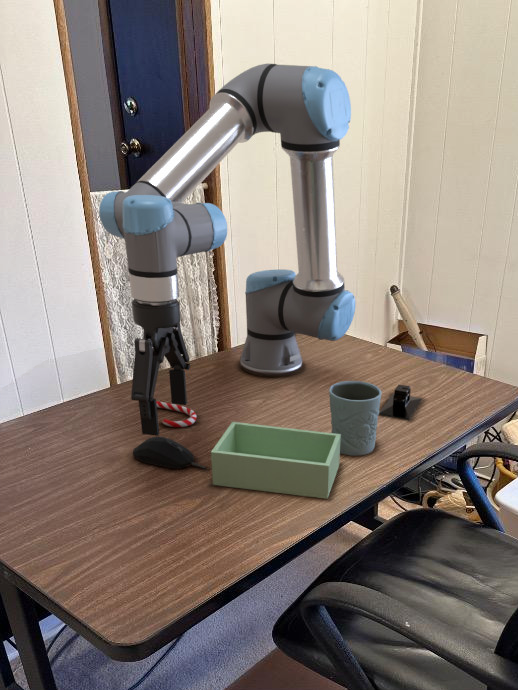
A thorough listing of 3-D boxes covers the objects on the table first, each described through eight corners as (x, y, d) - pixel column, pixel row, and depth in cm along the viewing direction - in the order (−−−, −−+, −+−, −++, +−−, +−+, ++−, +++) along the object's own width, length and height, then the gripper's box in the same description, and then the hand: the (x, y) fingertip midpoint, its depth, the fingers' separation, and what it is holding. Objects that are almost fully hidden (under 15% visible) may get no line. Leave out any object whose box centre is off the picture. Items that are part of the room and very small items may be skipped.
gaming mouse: (196, 476, 124) (195, 457, 122) (126, 459, 128) (123, 439, 126) (214, 461, 129) (213, 442, 127) (146, 445, 133) (144, 426, 131)
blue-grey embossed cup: (368, 461, 133) (372, 404, 127) (319, 451, 136) (321, 394, 129) (383, 440, 142) (387, 385, 136) (336, 430, 144) (339, 376, 138)
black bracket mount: (409, 420, 151) (411, 401, 149) (377, 414, 153) (378, 395, 150) (421, 399, 161) (423, 380, 159) (391, 394, 163) (393, 375, 160)
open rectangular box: (233, 452, 133) (232, 421, 129) (339, 465, 131) (340, 434, 128) (212, 485, 122) (210, 451, 118) (327, 499, 121) (329, 465, 117)
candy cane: (154, 394, 150) (205, 413, 144) (154, 400, 151) (206, 418, 144) (125, 405, 144) (178, 425, 138) (126, 411, 145) (178, 431, 139)
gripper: (162, 279, 124) (171, 390, 135) (98, 317, 102) (115, 445, 113) (202, 283, 123) (208, 394, 134) (147, 323, 102) (159, 451, 113)
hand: (165, 418), depth 124 cm, fingers open, 13 cm apart
